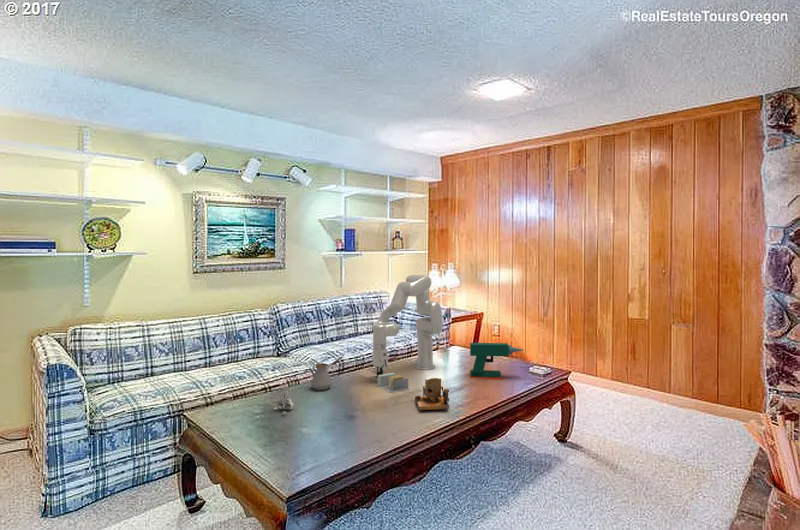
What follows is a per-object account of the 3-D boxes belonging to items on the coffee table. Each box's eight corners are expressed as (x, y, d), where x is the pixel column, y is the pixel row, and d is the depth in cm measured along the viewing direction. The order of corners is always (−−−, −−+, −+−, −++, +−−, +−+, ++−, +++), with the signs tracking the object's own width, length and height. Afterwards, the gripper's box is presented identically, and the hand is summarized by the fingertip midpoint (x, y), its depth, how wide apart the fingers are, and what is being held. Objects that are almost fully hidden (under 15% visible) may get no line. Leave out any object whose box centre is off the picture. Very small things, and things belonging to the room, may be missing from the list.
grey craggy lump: (268, 411, 210) (268, 394, 210) (278, 405, 218) (278, 389, 218) (285, 413, 207) (285, 396, 207) (295, 407, 216) (295, 391, 216)
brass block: (389, 387, 244) (389, 376, 244) (398, 385, 247) (398, 374, 247) (393, 389, 240) (393, 378, 240) (402, 387, 244) (402, 376, 244)
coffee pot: (319, 392, 238) (319, 364, 238) (306, 388, 245) (306, 360, 245) (350, 384, 254) (350, 357, 253) (337, 380, 261) (336, 354, 261)
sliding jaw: (377, 384, 249) (377, 375, 249) (392, 381, 255) (392, 372, 255) (380, 385, 247) (380, 376, 247) (395, 382, 253) (395, 373, 253)
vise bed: (376, 386, 250) (376, 375, 249) (392, 382, 256) (392, 372, 256) (392, 393, 236) (392, 382, 236) (409, 389, 243) (409, 378, 243)
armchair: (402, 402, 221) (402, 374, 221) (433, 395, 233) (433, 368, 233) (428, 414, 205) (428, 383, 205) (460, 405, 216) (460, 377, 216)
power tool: (523, 377, 268) (523, 343, 267) (525, 380, 261) (525, 345, 260) (469, 375, 271) (469, 342, 270) (469, 379, 264) (469, 344, 263)
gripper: (392, 347, 253) (392, 380, 253) (378, 343, 265) (378, 374, 265) (381, 349, 248) (381, 382, 248) (367, 344, 260) (367, 376, 261)
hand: (379, 378), depth 257 cm, fingers closed
